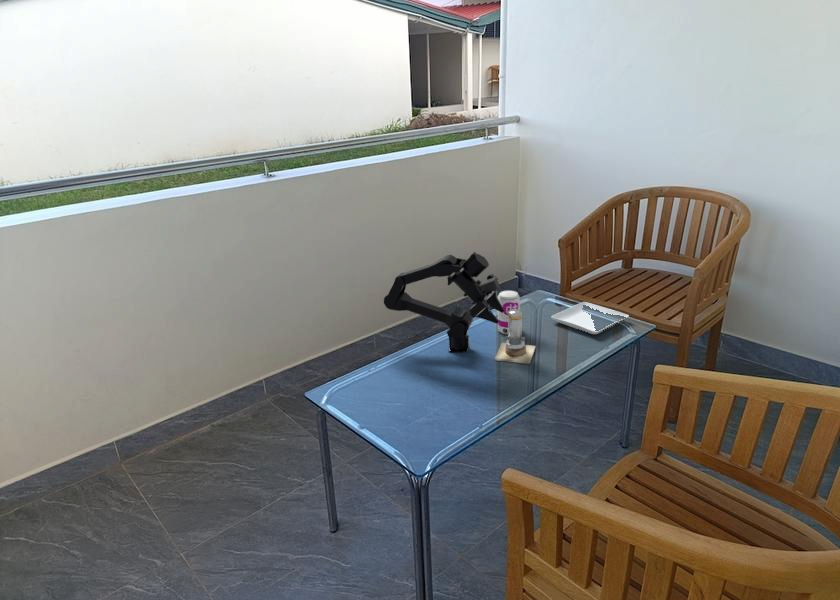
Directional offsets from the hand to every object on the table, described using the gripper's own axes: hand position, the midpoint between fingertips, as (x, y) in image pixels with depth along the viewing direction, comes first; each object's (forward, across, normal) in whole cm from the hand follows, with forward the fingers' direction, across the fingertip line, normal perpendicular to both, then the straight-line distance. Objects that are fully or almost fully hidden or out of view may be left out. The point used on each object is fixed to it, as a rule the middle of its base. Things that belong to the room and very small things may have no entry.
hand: (500, 317), depth 205 cm
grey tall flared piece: (+11, 0, +4) cm, 12 cm away
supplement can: (+9, +18, +10) cm, 23 cm away
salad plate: (+30, +31, -10) cm, 44 cm away
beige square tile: (+13, 0, +6) cm, 15 cm away
